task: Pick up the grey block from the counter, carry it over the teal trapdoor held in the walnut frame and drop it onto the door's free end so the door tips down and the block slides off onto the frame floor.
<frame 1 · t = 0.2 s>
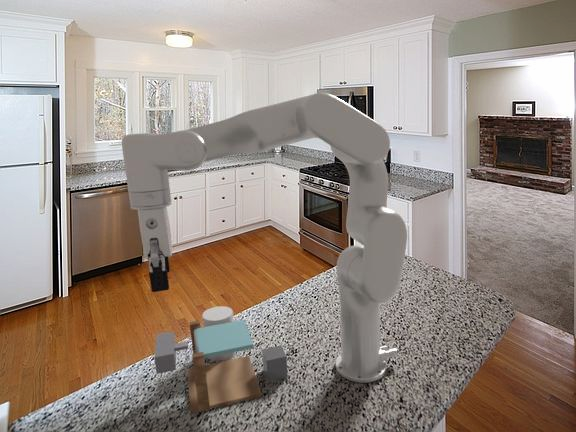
hand: (161, 281, 77), 31 cm above the countertop, tool pointing down, fingers open, 9 cm apart
cup: (221, 353, 105), on the countertop
grey block: (275, 374, 94), on the countertop
frame: (202, 387, 90), on the countertop
trapdoor: (204, 343, 88), point 11 cm above the countertop, hinge at 0.0°
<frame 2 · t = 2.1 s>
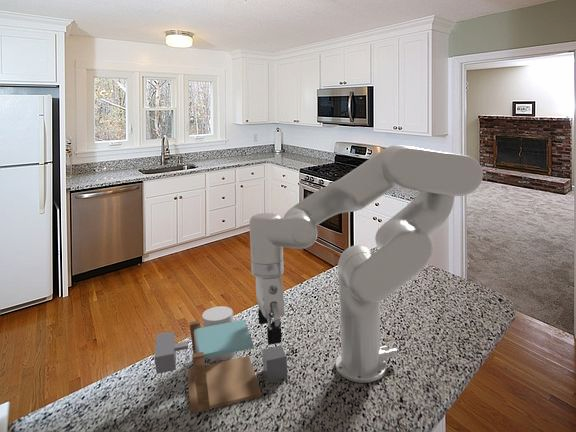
hand: (269, 332, 92), 12 cm above the countertop, tool pointing down, fingers open, 9 cm apart
nothing on the countertop moved.
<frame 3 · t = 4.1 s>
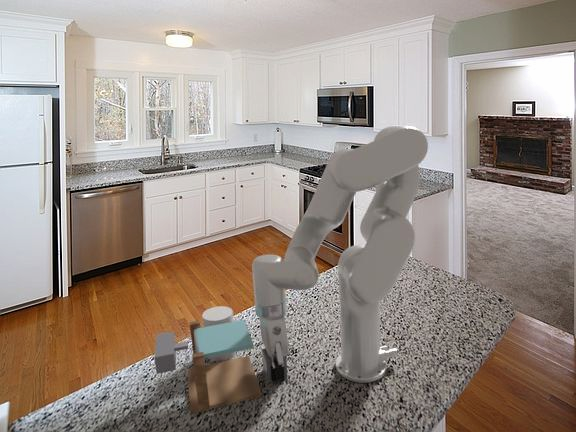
hand: (275, 372, 94), 0 cm above the countertop, tool pointing down, fingers closed on grey block, 5 cm apart
grey block: (275, 373, 94), on the countertop, touching gripper
everything else where it was.
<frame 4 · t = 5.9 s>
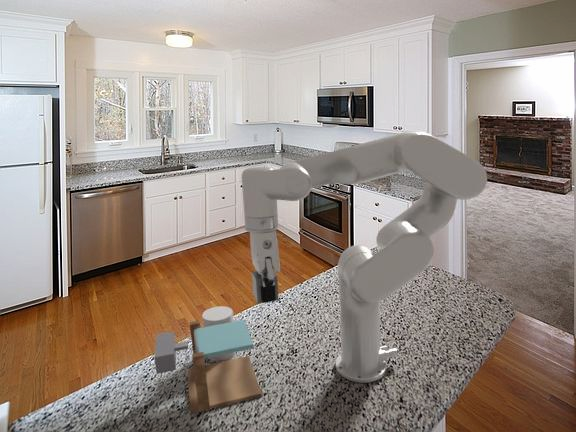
hand: (265, 295, 89), 21 cm above the countertop, tool pointing down, fingers closed on grey block, 5 cm apart
grey block: (265, 297, 89), point 21 cm above the countertop, touching gripper
everything else where it was.
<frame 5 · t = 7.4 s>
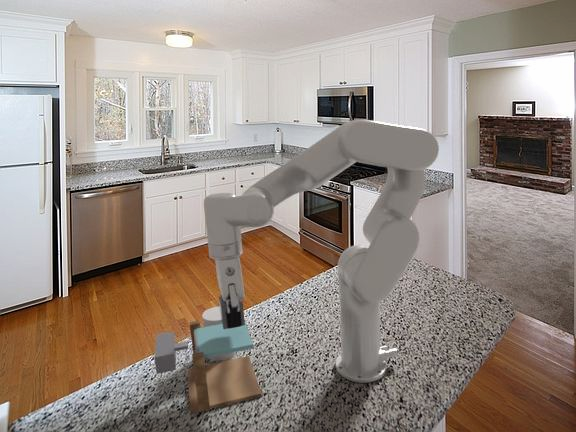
hand: (232, 320, 89), 16 cm above the countertop, tool pointing down, fingers closed on grey block, 5 cm apart
grey block: (232, 322, 89), point 16 cm above the countertop, touching gripper
everything else where it was.
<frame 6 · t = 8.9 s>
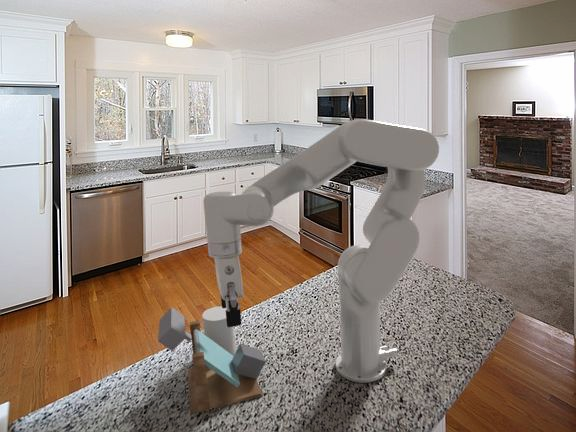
hand: (231, 315, 89), 17 cm above the countertop, tool pointing down, fingers open, 9 cm apart
grey block: (237, 357, 92), point 6 cm above the countertop, tilted 121°, touching frame, trapdoor
trapdoor: (200, 348, 88), point 10 cm above the countertop, hinge at -48.6°, touching grey block
everything else where it was.
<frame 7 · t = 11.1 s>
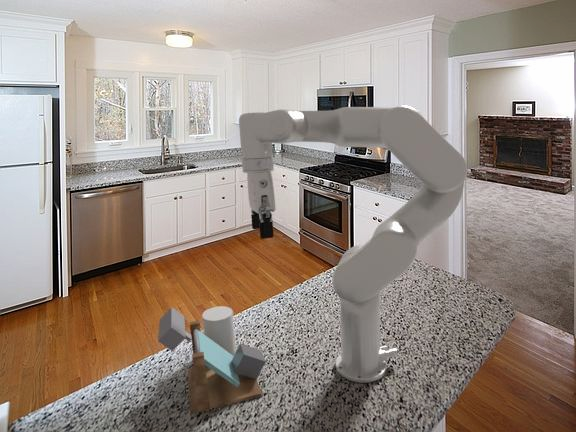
hand: (262, 233, 95), 34 cm above the countertop, tool pointing down, fingers open, 9 cm apart
grey block: (237, 357, 92), point 6 cm above the countertop, tilted 121°, touching frame
trapdoor: (200, 348, 88), point 10 cm above the countertop, hinge at -48.6°
everything else where it was.
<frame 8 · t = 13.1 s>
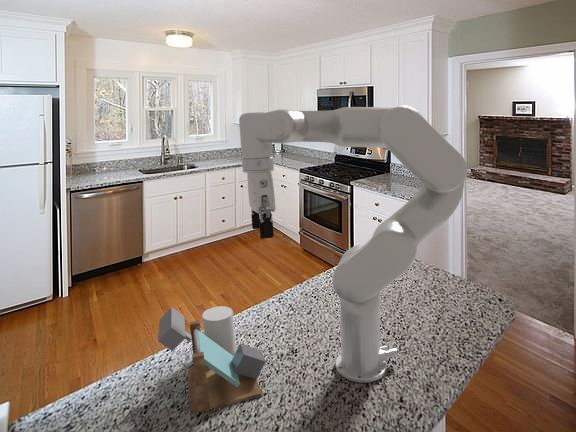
hand: (262, 232, 95), 34 cm above the countertop, tool pointing down, fingers open, 9 cm apart
grey block: (237, 357, 92), point 6 cm above the countertop, tilted 121°, touching frame, trapdoor
trapdoor: (200, 348, 88), point 10 cm above the countertop, hinge at -48.7°, touching grey block
everything else where it was.
at the end: grey block point 6.0 cm above the countertop; grey block inside the target area (0.5 cm from its centre), point 6.0 cm above the countertop; the gripper is holding nothing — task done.
